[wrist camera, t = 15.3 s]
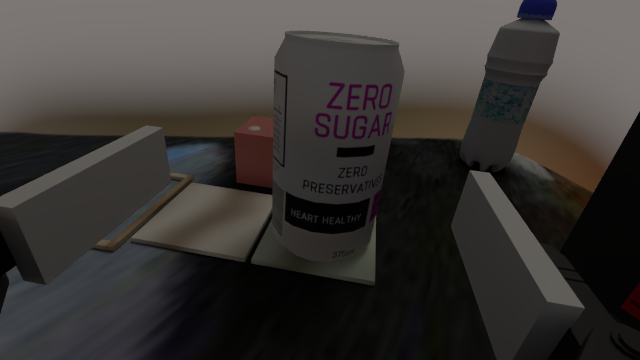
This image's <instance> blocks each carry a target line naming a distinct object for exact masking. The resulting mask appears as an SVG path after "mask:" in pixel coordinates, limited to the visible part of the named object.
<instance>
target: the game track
mask: <svg viewBox="0 0 640 360" xmlns="http://www.w3.org/2000/svg"><path fill="white" fill-rule="evenodd" d="M170 176H171V179H174V180H181V182H180V183H179V184H177V185H176V186H175V187H174V188H173V189H171V190H170V191H169V192H168V193H167V194H166V195H164V196H163V197H162V198H161V199H160V200H159V201H157V202H156V203H155V204H154V205H153V206H151V207H150V208H149V209H148V210H147V211H146V212H144V213H143V214H142V215H141V216H140V217H139V218H137V219H136V220H135V221H134V222H133V223H132V224H130V225H129V226H128V227H127V228H126V229H124V230H123V231H122V232H121V233H120V234H119V235H117V236H116V237H115V238H114V239H113V240H112V241H109V240H103V239H102V240H101V241H99V242H98V243H97V244H96V245H95V246H93V247H92V248H97V249H102V250H107V251H113V252H114V251H115V250H116V249H117V248H118V247H120V246H121V245H122V244H123V243H124V242H125V241H126V240H127V239H128V238H130V237H131V236H132V235H133V234H134V233H135V232H136V231H137V230H138V229H140V228H141V227H142V226H143V225H144V224H145V223H146V222H147V221H148V220H150V219H151V218H152V217H153V216H154V215H155V214H156V213H157V212H158V211H160V210H161V209H162V208H163V207H164V206H165V205H166V204H167V203H168V202H170V201H171V200H172V199H173V198H174V197H175V196H176V195H177V194H178V193H180V192H181V191H182V190H183V189H184V188H185V187H186V186H187V185H188V184H190V183H191V182H192V181H193V180H194V176H190V175H183V174H177V173H170ZM271 213H272V195H267V194H261V193H255V192H248V191H242V190H236V189H229V188H223V187H216V186H210V185H204V184H197V183H191V184H190V185H189V186H187V187H186V188H185V189H184V190H183V191H182V192H181V193H180V194H179V195H178V196H176V197H175V198H174V199H173V200H172V201H171V202H170V203H169V204H168V205H166V206H165V207H164V208H163V209H162V210H161V211H160V212H159V213H158V214H157V215H155V216H154V217H153V218H152V219H151V220H150V221H149V222H148V223H147V224H145V225H144V226H143V227H142V228H141V229H140V230H139V231H138V232H137V233H136V234H134V235H133V236H132V237H131V239H132V242H136V243H142V244H147V245H153V246H158V247H164V248H169V249H175V250H180V251H186V252H191V253H197V254H202V255H208V256H213V257H219V258H224V259H230V260H235V261H241V262H245V261H246V259H247V257H248V255H249V253H250V252H251V250H252V248H253V246H254V244H255V242H256V240H257V239H258V237H259V235H260V233H261V231H262V229H263V227H264V226H265V224H266V222H267V220H268V218H269V216H270V214H271ZM375 241H376V216H375V221H374V226H373V231H372V236H371V241H370V242H369V244H368V245H367V246H366V247H365V248H364V250H363V251H361V252H359V253H357V254H355V255H353V256H351V257H349V258H346V259H344V260H340V261H333V262H318V261H310V260H307V259H304V258H302V257H299V256H296V255H295V254H293V253H292V252H290V251H289V250H288V249H286V248H285V247H283V246H282V245H281V244H279V243H278V241H277V239H276V238H275V236H274V234H273V233H272V220H271V222H270V224H269V226H268V228H267V230H266V232H265V234H264V236H263V238H262V239H261V241H260V243H259V245H258V247H257V249H256V251H255V253H254V255H253V257H252V259H251V263H252V264H257V265H263V266H268V267H274V268H279V269H285V270H290V271H296V272H301V273H307V274H312V275H318V276H323V277H329V278H334V279H340V280H345V281H351V282H356V283H362V284H367V285H373V286H374V283H375Z"/></svg>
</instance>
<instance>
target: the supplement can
mask: <svg viewBox="0 0 640 360" xmlns="http://www.w3.org/2000/svg"><path fill="white" fill-rule="evenodd" d="M398 47H399V43H398V42H395V41H392V40H387V39H381V38H375V37H368V36H360V35H352V34H341V33H330V32H316V31H287V32H285V39H284V40H283V42H282V44H281V46H280V48H279V50H278V52H277V54H276V56H275V71H274V129H273V190H272V233H273V234H274V236H275V238H276V239H277V241H278V243H279V244H281V245H282V246H283V247H285V248H286V249H288V250H289V251H290V252H292V253H293V254H295V255H296V256H299V257H302V258H304V259H307V260H310V261H318V262H333V261H340V260H344V259H346V258H349V257H351V256H353V255H355V254H357V253H359V252H361V251H363V250H364V248H365V247H366V246H367V245H368V244H369V242H370V241H371V236H372V231H373V226H374V221H375V216H376V211H377V206H378V201H379V196H380V191H381V186H382V181H383V176H384V172H385V167H386V162H387V157H388V152H389V147H390V142H391V137H392V132H393V127H394V122H395V117H396V112H397V107H398V102H399V97H400V92H401V87H402V82H403V77H404V68H403V64H402V60H401V57H400V53H399V50H398Z"/></svg>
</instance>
